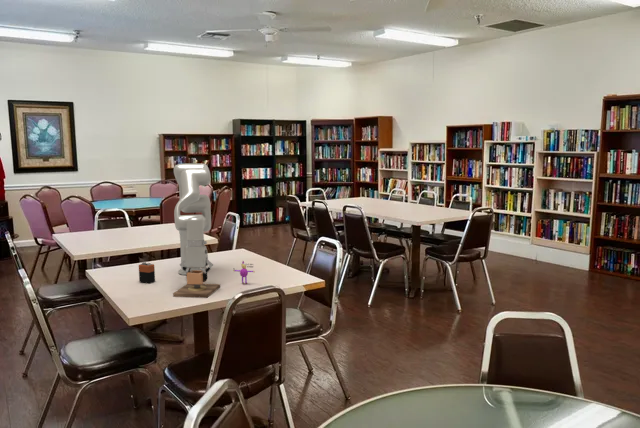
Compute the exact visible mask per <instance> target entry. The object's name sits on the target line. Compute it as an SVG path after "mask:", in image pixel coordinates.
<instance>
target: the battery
mask: <svg viewBox="0 0 640 428" xmlns="http://www.w3.org/2000/svg"><path fill="white" fill-rule="evenodd" d="M155 272H156V271H155V264H154V263H152V262H151V263H150V262H148V263H147V262H146V261H143V262H141V264H138V277H139V278H138V280H139V283H142V284H149V285H150V284H152V283H156V276H155V275H156V273H155Z"/></svg>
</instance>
